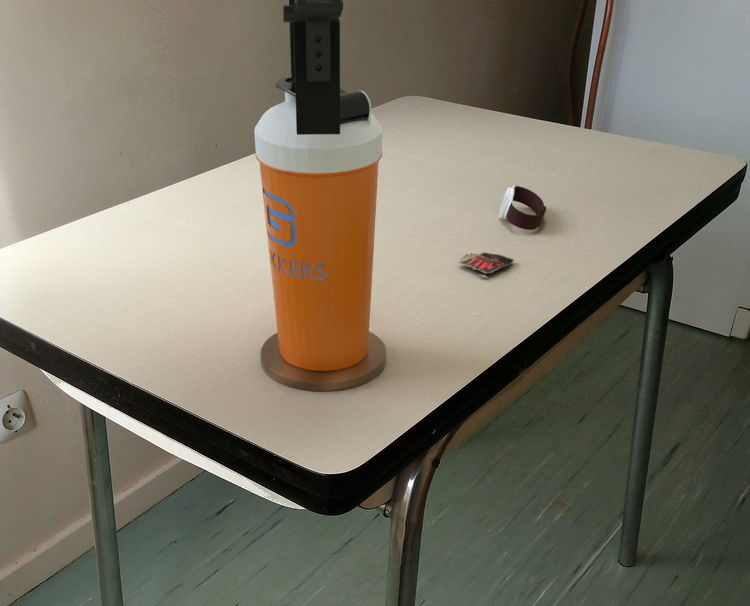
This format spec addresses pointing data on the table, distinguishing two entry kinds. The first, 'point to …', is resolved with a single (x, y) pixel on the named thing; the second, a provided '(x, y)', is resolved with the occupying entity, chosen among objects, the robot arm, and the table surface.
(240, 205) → the table surface
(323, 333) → the shaker bottle
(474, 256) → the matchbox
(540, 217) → the watch
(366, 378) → the coaster
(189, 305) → the table surface
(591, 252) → the table surface
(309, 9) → the robot arm
